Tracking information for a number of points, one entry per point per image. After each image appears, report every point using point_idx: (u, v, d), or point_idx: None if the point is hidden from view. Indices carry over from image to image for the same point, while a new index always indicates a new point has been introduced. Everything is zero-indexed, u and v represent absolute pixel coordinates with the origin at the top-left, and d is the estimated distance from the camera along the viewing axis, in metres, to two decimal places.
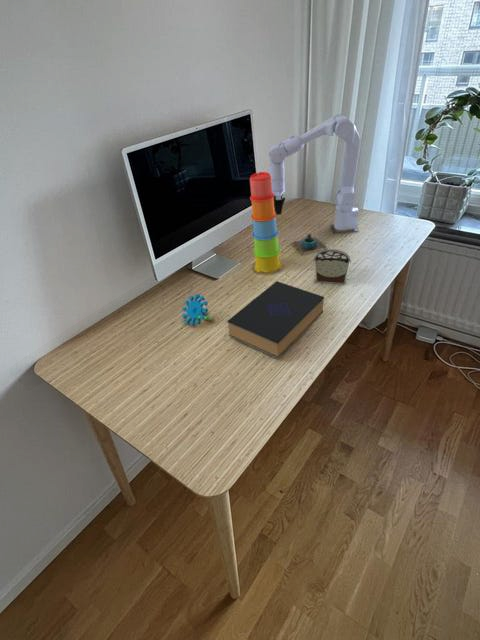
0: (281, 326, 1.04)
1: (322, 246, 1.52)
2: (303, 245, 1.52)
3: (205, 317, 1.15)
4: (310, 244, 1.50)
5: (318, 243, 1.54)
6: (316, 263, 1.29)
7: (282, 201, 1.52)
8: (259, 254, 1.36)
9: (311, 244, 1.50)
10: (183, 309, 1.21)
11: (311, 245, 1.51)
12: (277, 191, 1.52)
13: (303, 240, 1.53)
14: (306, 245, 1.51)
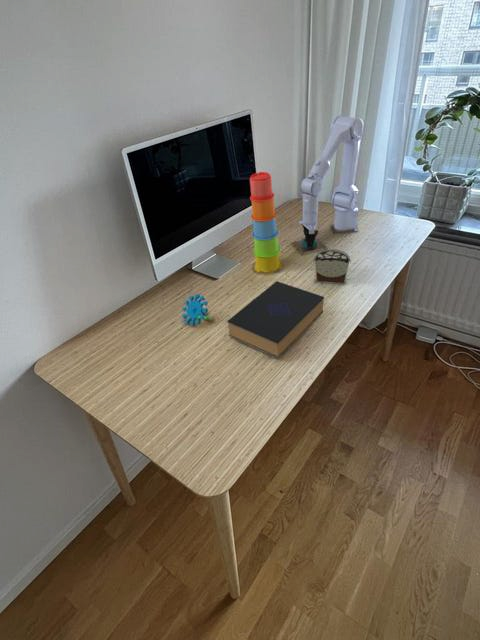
0: (281, 326, 1.04)
1: (322, 246, 1.52)
2: (303, 245, 1.52)
3: (205, 317, 1.15)
4: None
5: (318, 243, 1.54)
6: (316, 263, 1.29)
7: (315, 234, 1.45)
8: (259, 254, 1.36)
9: None
10: (183, 309, 1.21)
11: None
12: (310, 224, 1.45)
13: (303, 240, 1.53)
14: (306, 245, 1.51)
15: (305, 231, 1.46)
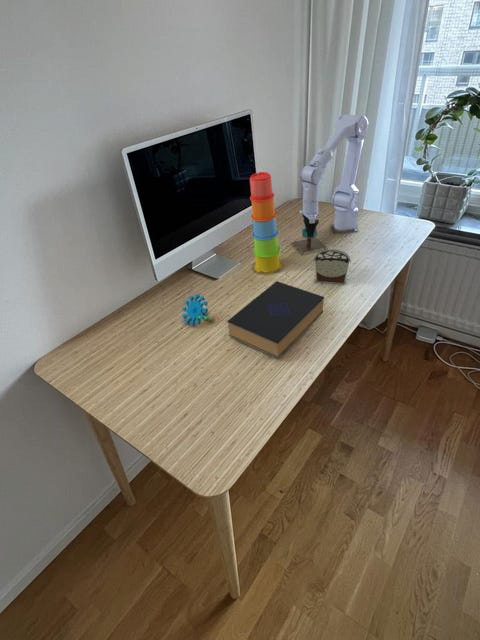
0: (281, 326, 1.04)
1: (322, 246, 1.52)
2: (303, 235, 1.50)
3: (205, 317, 1.15)
4: None
5: (318, 243, 1.54)
6: (316, 263, 1.29)
7: (315, 223, 1.43)
8: (259, 254, 1.36)
9: None
10: (183, 309, 1.21)
11: None
12: (310, 213, 1.43)
13: (303, 230, 1.50)
14: (306, 235, 1.48)
15: (305, 221, 1.43)
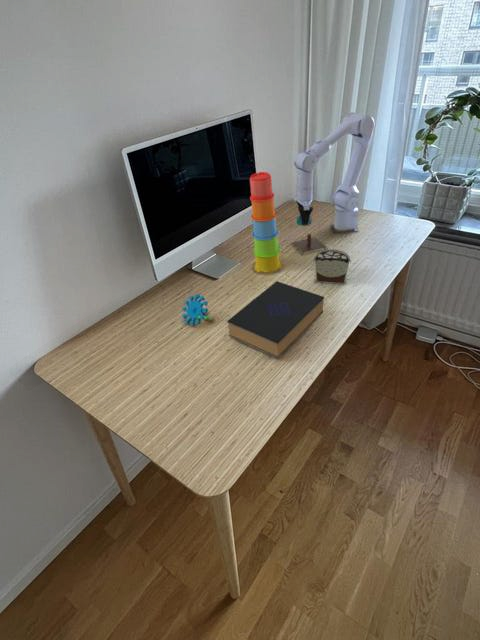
0: (281, 326, 1.04)
1: (322, 246, 1.52)
2: (298, 223, 1.52)
3: (205, 317, 1.15)
4: None
5: (318, 243, 1.54)
6: (316, 263, 1.29)
7: (310, 211, 1.45)
8: (259, 254, 1.36)
9: None
10: (183, 309, 1.21)
11: None
12: (304, 201, 1.45)
13: (298, 218, 1.52)
14: (301, 223, 1.51)
15: (300, 208, 1.45)
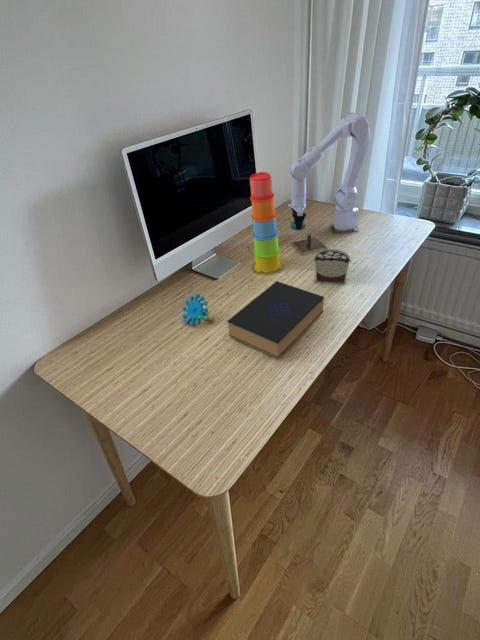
0: (281, 326, 1.04)
1: (322, 246, 1.52)
2: (292, 228, 1.59)
3: (205, 317, 1.15)
4: None
5: (318, 243, 1.54)
6: (316, 263, 1.29)
7: (303, 216, 1.53)
8: (259, 254, 1.36)
9: None
10: (183, 309, 1.21)
11: None
12: (298, 207, 1.52)
13: (292, 223, 1.60)
14: (295, 227, 1.58)
15: (294, 213, 1.53)
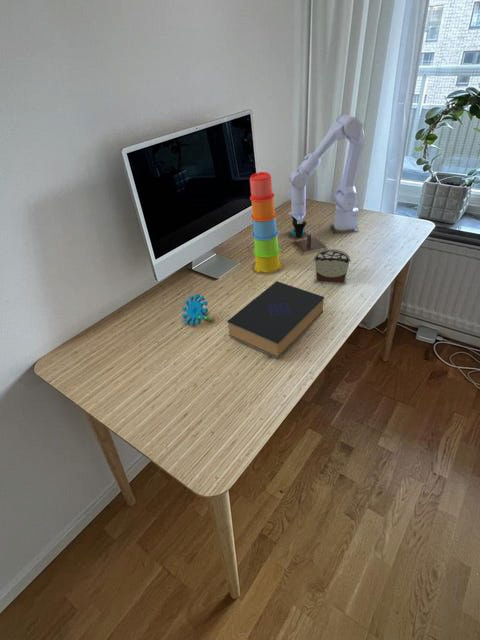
0: (281, 326, 1.04)
1: (322, 246, 1.52)
2: (292, 235, 1.62)
3: (205, 317, 1.15)
4: None
5: (318, 243, 1.54)
6: (316, 263, 1.29)
7: (303, 225, 1.54)
8: (259, 254, 1.36)
9: None
10: (183, 309, 1.21)
11: None
12: (298, 215, 1.54)
13: (292, 231, 1.62)
14: (295, 235, 1.60)
15: (294, 222, 1.54)
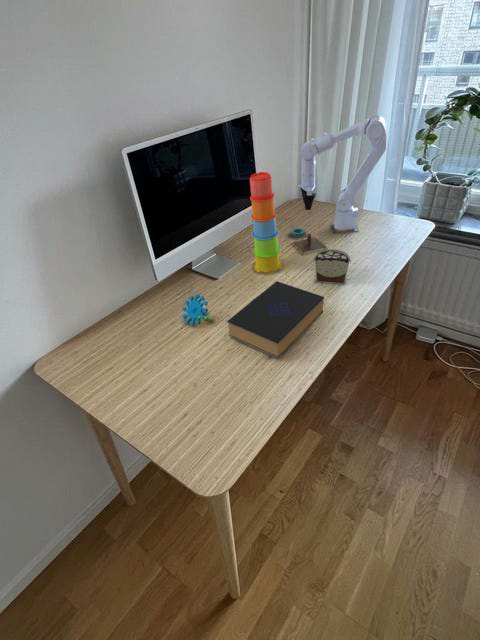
0: (281, 326, 1.04)
1: (322, 246, 1.52)
2: (292, 235, 1.62)
3: (205, 317, 1.15)
4: (299, 234, 1.60)
5: (318, 243, 1.54)
6: (316, 263, 1.29)
7: (313, 197, 1.55)
8: (259, 254, 1.36)
9: (299, 234, 1.60)
10: (183, 309, 1.21)
11: (299, 235, 1.60)
12: (308, 187, 1.55)
13: (292, 231, 1.62)
14: (295, 235, 1.60)
15: (303, 194, 1.55)
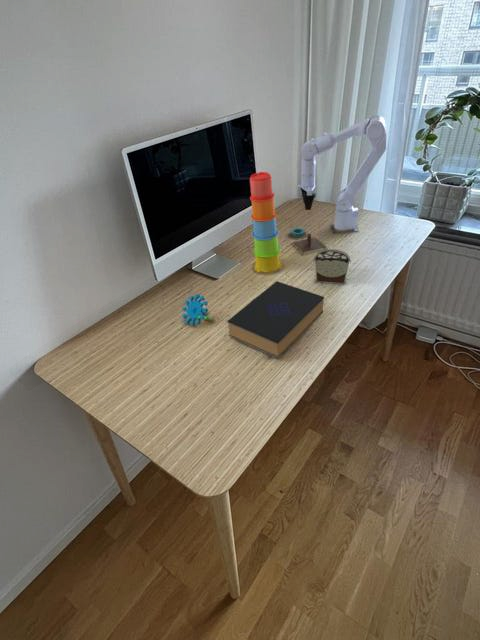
0: (281, 326, 1.04)
1: (322, 246, 1.52)
2: (292, 235, 1.62)
3: (205, 317, 1.15)
4: (299, 234, 1.60)
5: (318, 243, 1.54)
6: (316, 263, 1.29)
7: (313, 197, 1.55)
8: (259, 254, 1.36)
9: (299, 234, 1.60)
10: (183, 309, 1.21)
11: (299, 235, 1.60)
12: (308, 187, 1.55)
13: (292, 231, 1.62)
14: (295, 235, 1.60)
15: (303, 194, 1.55)
